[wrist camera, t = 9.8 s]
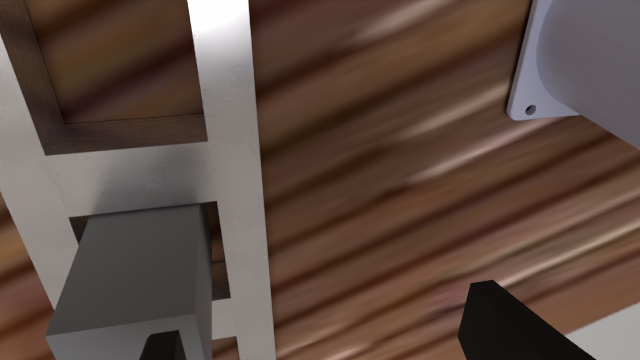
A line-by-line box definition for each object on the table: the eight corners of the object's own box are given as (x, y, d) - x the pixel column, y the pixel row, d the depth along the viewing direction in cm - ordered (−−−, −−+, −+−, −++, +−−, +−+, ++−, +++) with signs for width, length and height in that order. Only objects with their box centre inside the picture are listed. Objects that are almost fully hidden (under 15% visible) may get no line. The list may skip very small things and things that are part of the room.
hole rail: (238, -78, 15) (242, -73, 13) (274, 369, 28) (279, 407, 26) (-68, -75, 13) (-118, -69, 11) (120, 396, 26) (113, 439, 24)
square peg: (200, 172, 20) (195, 313, 13) (211, 242, 22) (212, 395, 15) (102, 181, 19) (44, 336, 12) (124, 253, 21) (85, 418, 15)
